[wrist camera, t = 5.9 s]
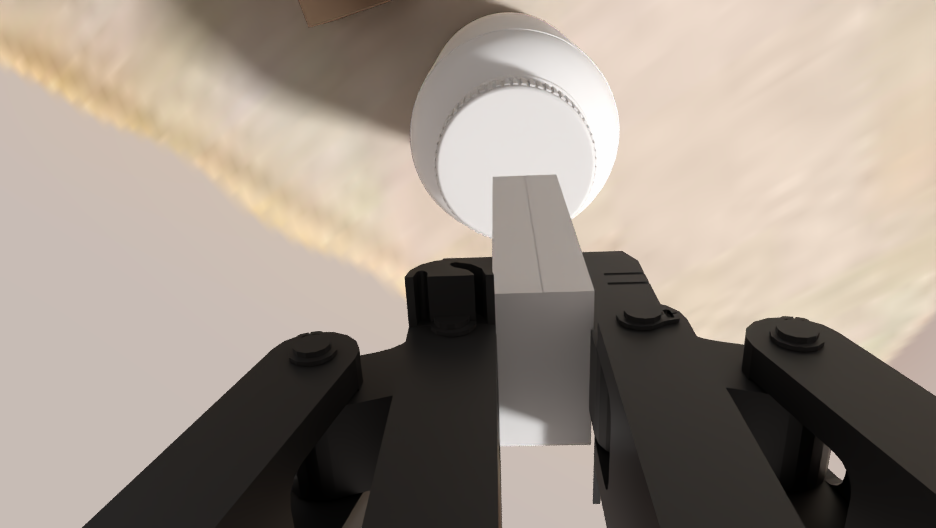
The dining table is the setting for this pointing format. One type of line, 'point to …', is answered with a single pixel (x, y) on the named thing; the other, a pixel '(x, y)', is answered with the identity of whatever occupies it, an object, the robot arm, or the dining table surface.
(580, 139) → the pill bottle
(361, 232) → the dining table surface
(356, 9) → the walnut cube
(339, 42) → the dining table surface
